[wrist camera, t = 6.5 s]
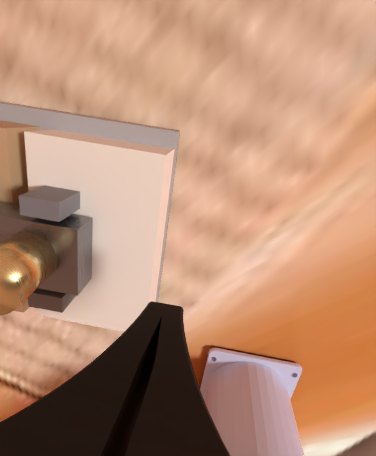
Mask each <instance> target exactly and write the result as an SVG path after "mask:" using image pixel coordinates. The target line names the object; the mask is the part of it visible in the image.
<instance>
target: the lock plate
mask: <svg viewBox="0 0 376 456" xmlns="http://www.w3.org/2000/svg"><path fill="white" fill-rule="evenodd" d="M179 135H180V131H178V130H172V129H166V128H160V127H154V126H148V125H142V124H135V123H129V122H123V121H117V120H111V119H105V118H99V117H92V116H86V115H80V114H74V113H68V112H62V111H56V110H49V109H43V108H37V107H31V106H25V105H19V104H13V103H6V102H0V201H1V202H7V203H12V204H18V205H19V206H20V215H23V216H29V217H35V218H40V219H46V220H51V221H57V222H60V221H62V220H63V219H65V218H66V217H68V216H69V215H71V214H74V215H80V216H85V217H91V218H93V231H92V279H91V280H90V281H89V282H88V284H87V285H86V286H85V287H84V289H83V290H82V291H81V292H80V294H79V295H78V296H76V295H71V294H66V293H60V292H55V291H50V290H45V289H39V288H37V289H36V290H35V291H34V292H33V293H32V294H30V295H29V296H28V297H27V298H26V299H25V300H24V301H23V302H22V303H21V304H20V305H19V306H18V307H17V308H15V309H14V311H19V312H25V311H26V310H27V309H28V308H29V307H35V308H37V310H38V315H39V316H45V317H50V318H55V319H60V320H65V321H70V322H76V323H81V324H86V325H91V326H96V327H101V328H106V329H112V330H117V331H122V332H125V331H126V330H127V329H128V327H129V326H130V325H131V324H132V323H133V322H134V321H135V320H136V319H137V317H138V316H139V315H140V314H141V313H142V311H143V310H144V309H145V307H146V306H147V305H148V303H150V302H151V301H152V302H158V297H159V290H160V282H161V274H162V266H163V259H164V251H165V243H166V235H167V228H168V220H169V212H170V205H171V197H172V189H173V181H174V174H175V166H176V158H177V150H178V143H179Z"/></svg>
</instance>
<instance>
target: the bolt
mask: <svg viewBox="0 0 376 456" xmlns="http://www.w3.org/2000/svg"><path fill="white" fill-rule="evenodd" d="M92 231H93V218H91V217H85V216H80V215H74V214H71V215H69V216H68V217H66V218H65V219H63V220H62V221H60V222H57V221H51V220H46V219H40V218H35V217H29V216H23V215H20V206H19V205H18V204H12V203H7V202H1V201H0V315H4V314H8V313H10V312H12V311H13V310H14V309H15V308H17V307H18V306H19V305H20V304H21V303H22V302H23V301H24V300H25V299H26V298H27V297H28V296H29V295H30V294H32V293H33V292H34V291H35V290H36V289H37V288H39V289H45V290H50V291H55V292H60V293H66V294H71V295H76V296H78V295H79V294H80V292H81V291H82V290H83V289H84V287H85V286H86V285H87V284H88V282H89V281H90V280H91V279H92Z"/></svg>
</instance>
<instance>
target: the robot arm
mask: <svg viewBox="0 0 376 456" xmlns="http://www.w3.org/2000/svg"><path fill="white" fill-rule="evenodd" d="M212 357H215V358H212ZM293 373H294V374H293ZM301 373H302V368H301V365H299V364H297V363H292V362H287V361H282V360H277V359H271V358H266V357H261V356H256V355H251V354H246V353H240V352H235V351H230V350H225V349H220V348H211V349H210V350H209V353H208V357H207V361H206V366H205V370H204V374H203V378H202V383H201V387H200V388H199V385H198V383H197V380H196V377H195V374H194V370H193V367H192V363H191V360H190V356H189V352H188V348H187V343H186V338H185V332H184V324H183V308H182V307H180V306H174V305H169V304H163V303H158V302H152V301H151V302H150V303H148V305H147V306H146V307H145V309H144V310H143V311H142V313H141V314H140V315H139V316H138V317H137V319H136V320H135V321H134V322H133V323H132V324H131V325H130V326H129V327H128V329H127V330H126V331H125V332H124V333H123V334H122V335H121V336H120V337H119V338H118V339H117V340H116V341H115V342H114V343H113V344H112V345H111V346H109V347H108V348H107V349H106V350H105V351H104V352H103V353H102V354H101V355H100V356H98V357H97V358H96V359H95V360H94V361H93V362H91V363H90V364H89V365H88V366H86V367H85V368H84V369H83V370H81V371H80V372H79V373H77V374H76V375H75V376H73V377H72V378H71V379H69V380H68V381H66V382H65V383H64V384H62V385H61V386H59V387H58V388H56V389H55V390H53V391H52V392H50V393H49V394H47V395H46V396H44V397H42V398H41V399H39V400H38V401H36V402H34V403H33V404H31V405H30V406H28V407H26V408H25V409H23V410H21V411H20V412H18V413H16V414H15V415H13V416H11V417H9V418H7V419H5V420H4V421H2V422H0V456H304V453H303V449H302V445H301V441H300V437H299V433H298V429H297V425H296V421H295V417H294V413H293V409H292V405H291V401H290V399H291V397H292V394H293V392H294V389H295V387H296V385H297V382H298V380H299V378H300V375H301Z"/></svg>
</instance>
